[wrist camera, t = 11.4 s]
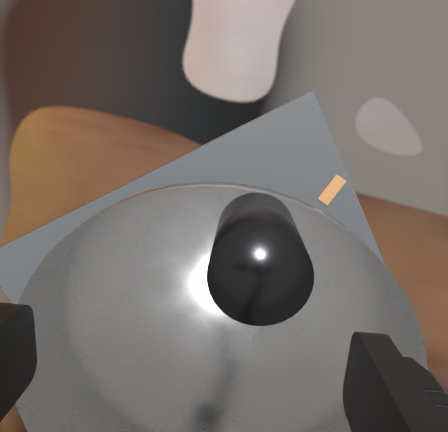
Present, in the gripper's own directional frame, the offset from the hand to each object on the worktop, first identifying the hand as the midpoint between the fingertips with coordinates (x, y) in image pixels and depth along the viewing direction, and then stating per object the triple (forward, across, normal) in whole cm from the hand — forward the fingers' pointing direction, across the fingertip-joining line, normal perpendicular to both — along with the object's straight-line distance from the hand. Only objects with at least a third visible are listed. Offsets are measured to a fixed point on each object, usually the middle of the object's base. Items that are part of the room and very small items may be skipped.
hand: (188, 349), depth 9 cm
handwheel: (+12, 0, +10) cm, 16 cm away
